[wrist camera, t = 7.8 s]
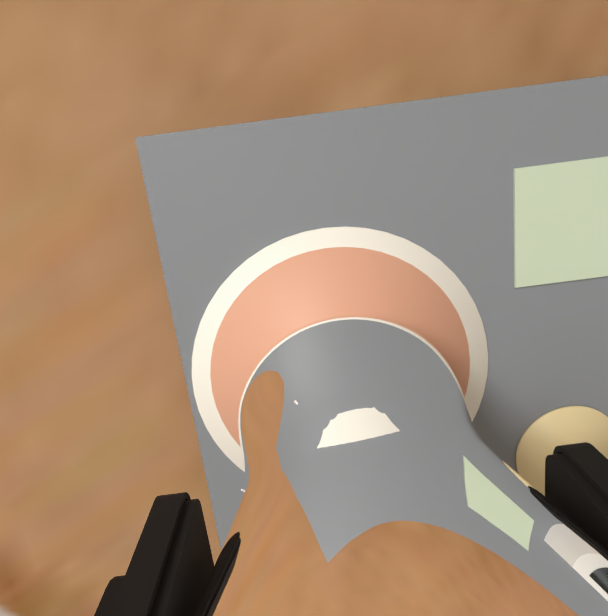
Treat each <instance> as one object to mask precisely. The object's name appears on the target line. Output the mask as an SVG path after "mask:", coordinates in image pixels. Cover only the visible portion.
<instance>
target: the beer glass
mask: <svg viewBox="0 0 608 616" xmlns="http://www.w3.org/2000/svg"><path fill="white" fill-rule="evenodd" d="M238 433H239V440H240V446H241V451H242V455H243V460H244V465H245V478H244V487H243V489H241V491H243V492H242V496H241V500H240V505H239V507H238V510H237V512H236V515H235V518H234V520H233V523H232V526H231V528H230V531H229V533H228V536H227V538H226V541H225V543H224V545H223V548H222V550H221V552H220V555H219V557H218V559H217V562H216V564H215V566H214V569H213V571H212V573H211V576H210V578H209V580H208V583H207V585H206V587H205V590H204V592H203V594H202V597H201V599H200V601H199V604H198V606H197V609H196V611H195V614H194V616H608V550H607V549H606V548H604V547H603V546H602V545H601V544H600V543H599V542H597V541H596V540H595V539H594V538H593V537H592V536H591V535H589V534H588V533H587V532H586V531H585V530H584V529H583V528H581V527H580V526H579V525H578V524H577V523H576V522H574V521H573V520H572V519H571V518H570V517H569V516H568V515H566V514H565V513H564V512H563V511H562V510H561V509H559V508H558V507H557V506H556V505H555V504H553V503H552V502H551V501H550V500H549V499H548V498H546V497H545V496H544V495H543V494H542V493H540V492H539V491H538V490H537V489H536V488H534V487H533V486H532V485H531V484H530V483H529V482H527V481H526V480H525V479H524V478H523V477H521V476H520V475H519V474H518V473H517V472H515V471H514V470H513V469H512V468H511V467H510V466H509V465H508V464H507V463H506V462H504V461H503V460H502V459H501V458H500V457H499V456H498V455H497V454H496V453H495V452H494V451H492V450H491V449H490V448H489V447H488V445H487V444H486V443H485V442H484V441H483V439H482V438H481V437H480V436H479V434H478V433H477V431H476V429H475V428H474V426H473V423H472V421H471V418H470V414H469V411H468V408H467V405H466V401H465V398H464V395H463V392H462V389H461V387H460V384H459V382H458V379H457V377H456V375H455V373H454V371H453V370H452V368H451V366H450V365H449V363H448V362H447V360H446V359H445V358H444V356H443V355H442V354H441V352H440V351H439V350H438V349H437V348H436V347H435V346H434V345H433V344H432V343H431V342H429V341H428V340H427V339H426V338H424V337H423V336H422V335H420V334H419V333H417V332H416V331H414V330H412V329H410V328H408V327H406V326H404V325H402V324H399V323H397V322H394V321H391V320H388V319H385V318H380V317H375V316H368V315H340V316H333V317H328V318H324V319H320V320H317V321H314V322H311V323H308V324H306V325H304V326H302V327H299V328H297V329H296V330H294V331H292V332H290V333H289V334H287V335H286V336H284V337H283V338H282V339H280V340H279V341H278V342H276V343H275V344H274V345H273V346H272V347H271V348H270V349H269V350H268V351H267V352H266V353H265V354H264V355H263V356H262V358H261V359H260V360H259V362H258V363H257V364H256V366H255V367H254V369H253V370H252V372H251V374H250V375H249V377H248V379H247V381H246V384H245V386H244V389H243V391H242V395H241V398H240V402H239V409H238Z"/></svg>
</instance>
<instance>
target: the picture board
mask: <svg viewBox="0 0 608 616" xmlns="http://www.w3.org/2000/svg"><path fill="white" fill-rule="evenodd" d="M135 140H136V145H137V150H138V154H139V159H140V164H141V169H142V173H143V178H144V183H145V188H146V193H147V197H148V202H149V207H150V212H151V216H152V221H153V226H154V231H155V236H156V240H157V245H158V250H159V255H160V260H161V264H162V269H163V274H164V279H165V283H166V288H167V293H168V298H169V303H170V307H171V312H172V317H173V322H174V326H175V331H176V336H177V341H178V346H179V350H180V355H181V360H182V365H183V370H184V374H185V379H186V384H187V389H188V393H189V398H190V403H191V408H192V413H193V417H194V422H195V427H196V432H197V436H198V441H199V446H200V451H201V456H202V460H203V465H204V470H205V475H206V480H207V484H208V489H209V494H210V499H211V503H212V508H213V513H214V518H215V523H216V527H217V532H218V537H219V542H220V546H221V550H222V548H223V545H224V543H225V541H226V538H227V536H228V533H229V531H230V528H231V526H232V523H233V520H234V518H235V515H236V512H237V510H238V507H239V505H240V500H241V496H242V492H243V491H241V489H243V487H244V478H245V465H244V460H243V455H242V451H241V446H240V440H239V433H238V409H239V402H240V398H241V395H242V391H243V389H244V386H245V384H246V381H247V379H248V377H249V375H250V374H251V372H252V370H253V369H254V367H255V366H256V364H257V363H258V362H259V360H260V359H261V358H262V356H263V355H264V354H265V353H266V352H267V351H268V350H269V349H270V348H271V347H272V346H273V345H274V344H275V343H276V342H278V341H279V340H280V339H282V338H283V337H284V336H286V335H287V334H289V333H290V332H292V331H294V330H296V329H297V328H299V327H302V326H304V325H306V324H308V323H311V322H314V321H317V320H320V319H324V318H328V317H333V316H340V315H368V316H375V317H380V318H385V319H388V320H391V321H394V322H397V323H399V324H402V325H404V326H406V327H408V328H410V329H412V330H414V331H416V332H417V333H419V334H420V335H422V336H423V337H424V338H426V339H427V340H428V341H429V342H431V343H432V344H433V345H434V346H435V347H436V348H437V349H438V350H439V351H440V352H441V354H442V355H443V356H444V358H445V359H446V360H447V362H448V363H449V365H450V366H451V368H452V370H453V371H454V373H455V375H456V377H457V379H458V382H459V384H460V387H461V389H462V392H463V395H464V398H465V401H466V405H467V408H468V411H469V414H470V418H471V421H472V423H473V426H474V428H475V429H476V431H477V433H478V434H479V436H480V437H481V438H482V439H483V441H484V442H485V443H486V444H487V445H488V447H489V448H490V449H491V450H492V451H494V452H495V453H496V454H497V455H498V456H499V457H500V458H501V459H502V460H503V461H504V462H506V463H507V464H508V465H509V466H510V467H511V468H512V469H513V470H514V471H515V472H517V473H518V474H519V475H520V476H521V477H523V478H524V479H525V480H526V481H527V482H529V483H530V484H531V485H532V486H533V487H534V488H536V489H537V490H538V491H539V492H540V493H542V494H543V495H544V496H545V460H546V457H547V456H548V455H552V454H553V451H554V449H555V447H556V446H560V445H568V444H576V443H584V442H587V443H590V444H592V445H593V446H594V447H595V448H596V449H597V450H598V451H599V452H600V453H602V454H603V455H604V456H605V457H606V458H607V459H608V75H607V76H600V77H592V78H584V79H577V80H569V81H562V82H554V83H546V84H539V85H531V86H523V87H516V88H508V89H501V90H493V91H485V92H478V93H470V94H463V95H455V96H447V97H440V98H432V99H424V100H417V101H409V102H402V103H394V104H386V105H379V106H371V107H363V108H356V109H348V110H341V111H333V112H325V113H318V114H310V115H303V116H295V117H287V118H280V119H272V120H264V121H257V122H249V123H242V124H234V125H226V126H219V127H211V128H204V129H196V130H188V131H181V132H173V133H165V134H158V135H150V136H143V137H135Z"/></svg>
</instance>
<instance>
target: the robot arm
mask: <svg viewBox="0 0 608 616" xmlns="http://www.w3.org/2000/svg"><path fill="white" fill-rule="evenodd" d="M545 497H546V498H548V499H549V500H550V501H551V502H552V503H553V504H555V505H556V506H557V507H558V508H559V509H561V510H562V511H563V512H564V513H565V514H566V515H568V516H569V517H570V518H571V519H572V520H573V521H574V522H576V523H577V524H578V525H579V526H580V527H581V528H583V529H584V530H585V531H586V532H587V533H588V534H589V535H591V536H592V537H593V538H594V539H595V540H596V541H597V542H599V543H600V544H601V545H602V546H603V547H604V548H606V549H607V550H608V459H607V458H606V457H605V456H604V455H603V454H602V453H600V452H599V451H598V450H597V449H596V448H595V447H594V446H593V445H592V444H590V443H587V442H584V443H576V444H568V445H560V446H556V447H555V449H554V451H553V454H552V455H548V456H547V457H546V460H545ZM213 569H214V563H213V559H212V554H211V549H210V545H209V540H208V535H207V531H206V526H205V521H204V517H203V512H202V507H201V503H200V501H199V499H193V500H191V499H190V496H189V494H188V493H187V492H185V493H177V494H169V495H161V496H157V497H156V499H155V500H154V503H153V506H152V508H151V511H150V513H149V516H148V518H147V521H146V523H145V526H144V529H143V531H142V534H141V536H140V539H139V541H138V544H137V547H136V549H135V552H134V554H133V557H132V559H131V562H130V564H129V567H128V570H127V572H126V575H125V576H117V577H114V578H113V579H111V580H110V582H109V584H108V585H107V587H106V589H105V592H104V594H103V596H102V599H101V601H100V603H99V606H98V608H97V610H96V613H95V615H94V616H194V614H195V611H196V609H197V606H198V604H199V601H200V599H201V597H202V594H203V592H204V590H205V587H206V585H207V583H208V580H209V578H210V576H211V573H212V571H213Z"/></svg>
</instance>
